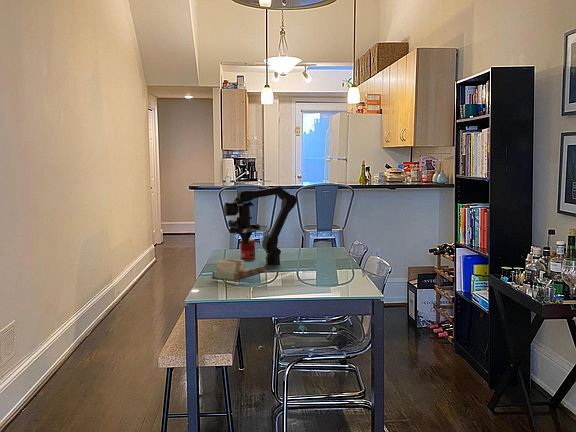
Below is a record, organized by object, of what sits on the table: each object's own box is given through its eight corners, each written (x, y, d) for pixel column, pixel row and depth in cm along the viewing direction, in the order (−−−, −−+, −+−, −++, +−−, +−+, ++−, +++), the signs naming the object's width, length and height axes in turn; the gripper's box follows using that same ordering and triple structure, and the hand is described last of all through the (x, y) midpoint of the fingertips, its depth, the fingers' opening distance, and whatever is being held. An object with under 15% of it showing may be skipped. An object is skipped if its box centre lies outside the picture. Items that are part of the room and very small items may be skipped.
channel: (242, 270, 286) (242, 263, 286) (265, 272, 279) (265, 265, 278) (212, 278, 267) (212, 271, 267) (235, 281, 260) (235, 274, 259)
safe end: (225, 275, 275) (225, 268, 275) (248, 278, 268) (248, 270, 267) (212, 278, 267) (212, 271, 267) (235, 281, 260) (235, 274, 259)
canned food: (253, 259, 316) (252, 240, 315) (239, 259, 318) (238, 240, 317) (256, 257, 324) (256, 238, 323) (243, 257, 325) (242, 238, 324)
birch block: (228, 273, 274) (227, 258, 273) (244, 275, 268) (243, 260, 267) (217, 276, 267) (216, 261, 266) (233, 278, 262) (233, 262, 261)
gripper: (243, 212, 301) (243, 241, 302) (220, 216, 285) (221, 246, 287) (260, 213, 294) (260, 243, 296) (237, 217, 279) (238, 248, 281)
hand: (245, 245), depth 290 cm, fingers closed
